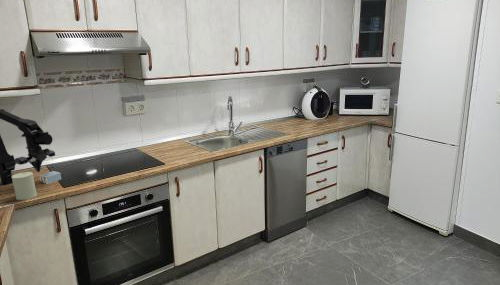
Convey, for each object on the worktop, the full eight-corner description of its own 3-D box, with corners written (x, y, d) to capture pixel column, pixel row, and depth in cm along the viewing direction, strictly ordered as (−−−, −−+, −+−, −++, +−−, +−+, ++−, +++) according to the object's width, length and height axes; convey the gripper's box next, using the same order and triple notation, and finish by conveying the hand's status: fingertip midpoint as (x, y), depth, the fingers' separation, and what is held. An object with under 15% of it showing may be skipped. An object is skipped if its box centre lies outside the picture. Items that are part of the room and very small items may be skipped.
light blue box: (39, 175, 202) (53, 171, 208) (40, 182, 203) (54, 177, 209) (46, 177, 198) (60, 172, 204) (47, 184, 199) (61, 179, 205)
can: (40, 192, 187) (35, 170, 184) (32, 199, 178) (27, 176, 175) (21, 193, 186) (16, 171, 183) (12, 201, 177) (7, 177, 174)
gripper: (22, 150, 182) (28, 179, 186) (58, 142, 197) (63, 169, 201) (11, 148, 188) (17, 176, 192) (47, 139, 203) (52, 166, 207)
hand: (38, 172), depth 197 cm, fingers closed
